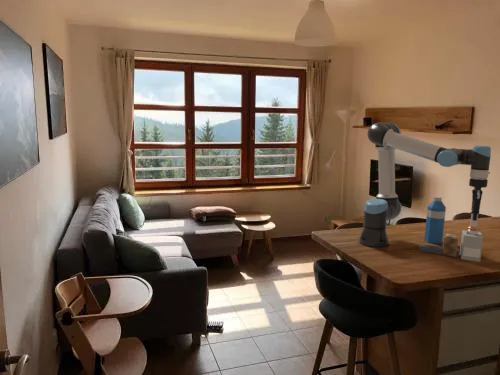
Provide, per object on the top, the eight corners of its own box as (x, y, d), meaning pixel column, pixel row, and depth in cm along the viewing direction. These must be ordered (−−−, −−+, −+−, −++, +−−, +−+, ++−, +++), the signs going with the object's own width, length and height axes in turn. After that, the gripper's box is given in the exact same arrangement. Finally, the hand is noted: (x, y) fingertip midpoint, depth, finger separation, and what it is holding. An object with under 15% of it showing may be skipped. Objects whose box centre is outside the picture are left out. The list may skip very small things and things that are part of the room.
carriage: (442, 255, 199) (444, 236, 197) (442, 250, 205) (443, 232, 203) (456, 257, 196) (458, 238, 194) (455, 252, 203) (457, 234, 201)
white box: (461, 259, 194) (464, 235, 192) (459, 253, 203) (462, 230, 201) (480, 262, 191) (483, 237, 188) (477, 255, 200) (480, 232, 198)
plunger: (467, 239, 194) (468, 227, 193) (466, 237, 198) (467, 225, 197) (477, 240, 193) (478, 228, 191) (476, 238, 196) (477, 226, 195)
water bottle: (444, 244, 217) (449, 199, 212) (426, 243, 219) (430, 198, 214) (440, 239, 226) (444, 195, 221) (422, 238, 228) (426, 195, 223)
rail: (419, 252, 204) (419, 246, 203) (419, 249, 208) (419, 243, 208) (458, 257, 197) (459, 251, 196) (457, 254, 201) (458, 248, 201)
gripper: (489, 180, 183) (484, 230, 187) (485, 177, 195) (480, 224, 199) (471, 179, 186) (465, 228, 190) (468, 176, 197) (463, 222, 202)
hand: (473, 226), depth 194 cm, fingers closed
